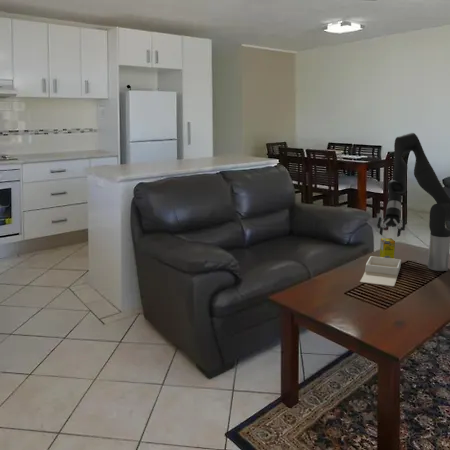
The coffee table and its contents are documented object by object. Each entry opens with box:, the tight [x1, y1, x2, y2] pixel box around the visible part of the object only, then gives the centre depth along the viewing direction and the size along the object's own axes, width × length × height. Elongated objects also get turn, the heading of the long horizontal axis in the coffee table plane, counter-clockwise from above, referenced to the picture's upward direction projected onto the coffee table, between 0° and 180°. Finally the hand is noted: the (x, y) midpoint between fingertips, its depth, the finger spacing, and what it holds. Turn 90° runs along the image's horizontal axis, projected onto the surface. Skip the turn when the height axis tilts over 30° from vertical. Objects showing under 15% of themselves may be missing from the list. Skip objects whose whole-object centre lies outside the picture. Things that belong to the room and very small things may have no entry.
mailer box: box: [359, 255, 402, 288], centre depth 228 cm, size 15×30×4 cm, turn 155°
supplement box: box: [379, 237, 396, 259], centre depth 250 cm, size 6×6×11 cm
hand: (389, 235), depth 254 cm, fingers open, 8 cm apart
